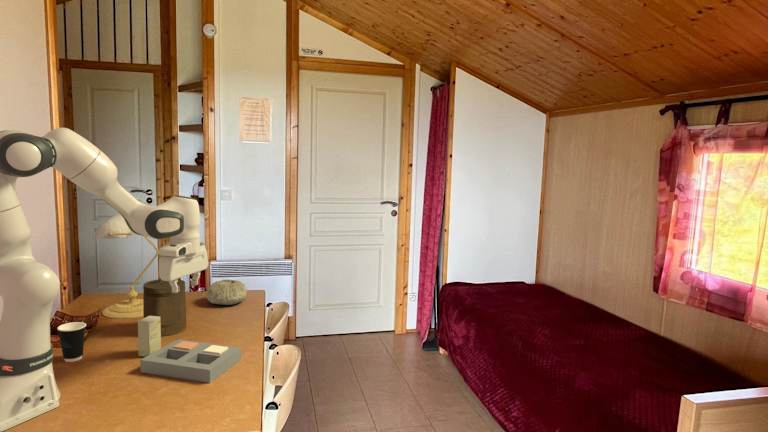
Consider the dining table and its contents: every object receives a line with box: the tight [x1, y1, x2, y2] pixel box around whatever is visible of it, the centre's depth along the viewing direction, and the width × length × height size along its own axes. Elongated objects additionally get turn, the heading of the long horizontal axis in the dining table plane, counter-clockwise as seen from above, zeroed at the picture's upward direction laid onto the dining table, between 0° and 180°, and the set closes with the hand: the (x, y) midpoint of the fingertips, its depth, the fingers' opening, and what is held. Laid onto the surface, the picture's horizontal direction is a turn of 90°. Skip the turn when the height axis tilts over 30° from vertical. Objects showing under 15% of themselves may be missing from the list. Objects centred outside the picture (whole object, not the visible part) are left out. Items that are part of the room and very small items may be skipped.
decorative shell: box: [205, 279, 248, 306], centre depth 222 cm, size 18×18×10 cm
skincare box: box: [137, 316, 162, 358], centre depth 164 cm, size 6×4×12 cm
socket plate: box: [139, 338, 242, 384], centre depth 156 cm, size 18×24×4 cm
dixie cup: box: [56, 321, 87, 363], centre depth 158 cm, size 8×8×11 cm
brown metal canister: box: [142, 278, 187, 337], centre depth 186 cm, size 15×15×22 cm
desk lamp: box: [92, 214, 159, 320], centre depth 206 cm, size 31×23×40 cm
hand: (185, 288), depth 158 cm, fingers open, 8 cm apart
